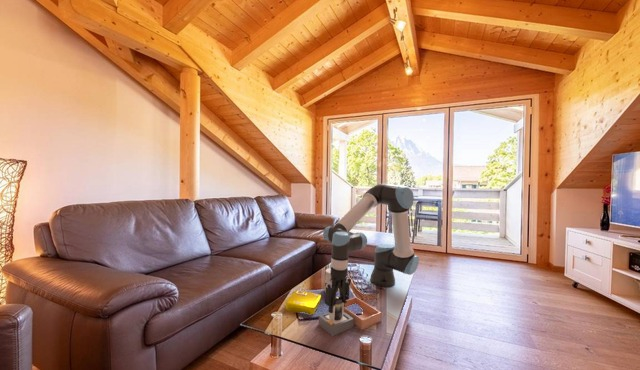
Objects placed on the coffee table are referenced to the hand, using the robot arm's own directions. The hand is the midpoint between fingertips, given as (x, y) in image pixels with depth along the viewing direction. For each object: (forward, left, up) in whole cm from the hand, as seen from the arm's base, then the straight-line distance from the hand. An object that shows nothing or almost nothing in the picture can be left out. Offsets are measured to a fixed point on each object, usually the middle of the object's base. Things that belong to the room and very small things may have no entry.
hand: (336, 317), depth 126 cm
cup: (-19, -27, -4) cm, 33 cm away
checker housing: (0, 0, -4) cm, 4 cm away
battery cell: (0, 0, 0) cm, 0 cm away
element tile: (+3, -22, -5) cm, 23 cm away
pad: (0, 0, -3) cm, 3 cm away
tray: (-14, 0, -4) cm, 15 cm away
